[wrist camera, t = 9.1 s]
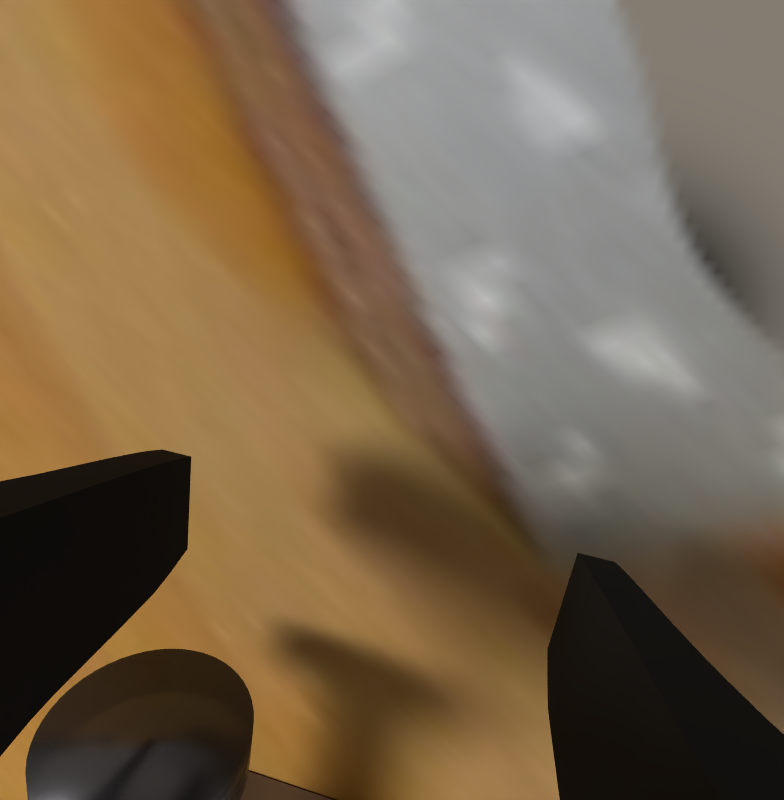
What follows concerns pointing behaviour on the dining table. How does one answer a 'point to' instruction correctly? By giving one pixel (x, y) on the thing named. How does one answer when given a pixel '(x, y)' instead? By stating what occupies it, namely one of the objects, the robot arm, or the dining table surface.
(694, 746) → the robot arm
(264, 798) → the board
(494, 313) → the dining table surface
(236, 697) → the shaft
